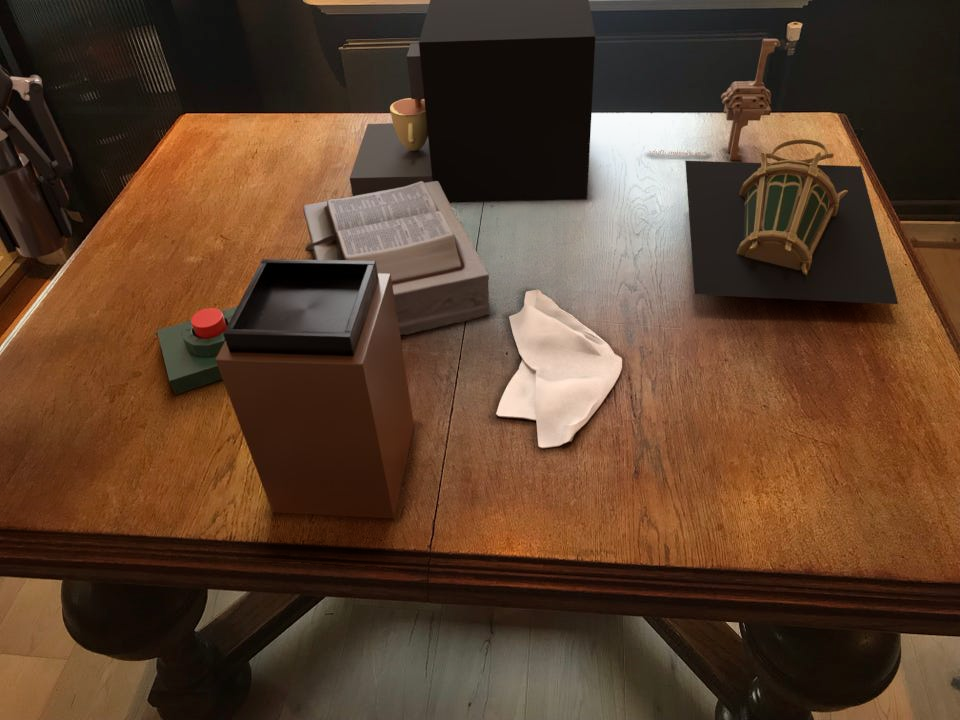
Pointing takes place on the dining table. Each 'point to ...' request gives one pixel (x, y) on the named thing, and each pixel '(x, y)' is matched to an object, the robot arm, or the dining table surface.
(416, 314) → the bible
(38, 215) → the metal bottle
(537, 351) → the cloth
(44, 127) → the robot arm
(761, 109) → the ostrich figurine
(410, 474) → the dining table surface
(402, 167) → the coffee maker
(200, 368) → the base
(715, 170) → the lantern
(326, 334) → the brown pedestal
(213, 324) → the button
